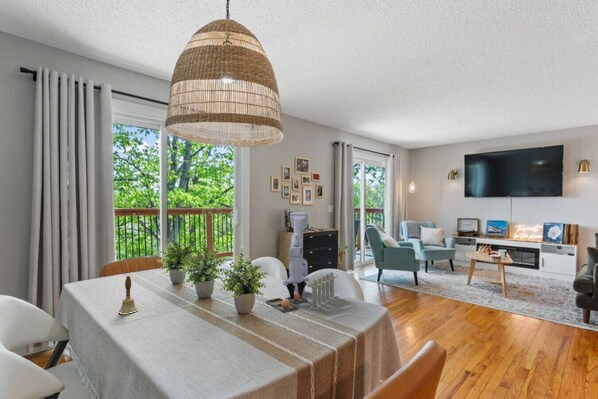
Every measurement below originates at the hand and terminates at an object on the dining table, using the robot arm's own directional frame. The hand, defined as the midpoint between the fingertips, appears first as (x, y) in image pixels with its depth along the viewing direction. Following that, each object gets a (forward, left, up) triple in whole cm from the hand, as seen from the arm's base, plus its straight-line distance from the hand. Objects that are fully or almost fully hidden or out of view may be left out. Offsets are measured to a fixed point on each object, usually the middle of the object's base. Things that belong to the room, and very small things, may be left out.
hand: (296, 297), depth 155 cm
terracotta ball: (0, 0, -2) cm, 2 cm away
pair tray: (+2, -10, -2) cm, 10 cm away
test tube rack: (+9, +10, -2) cm, 14 cm away
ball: (+6, -10, -2) cm, 12 cm away
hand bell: (-33, -70, -2) cm, 77 cm away
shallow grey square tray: (0, 0, -2) cm, 2 cm away
